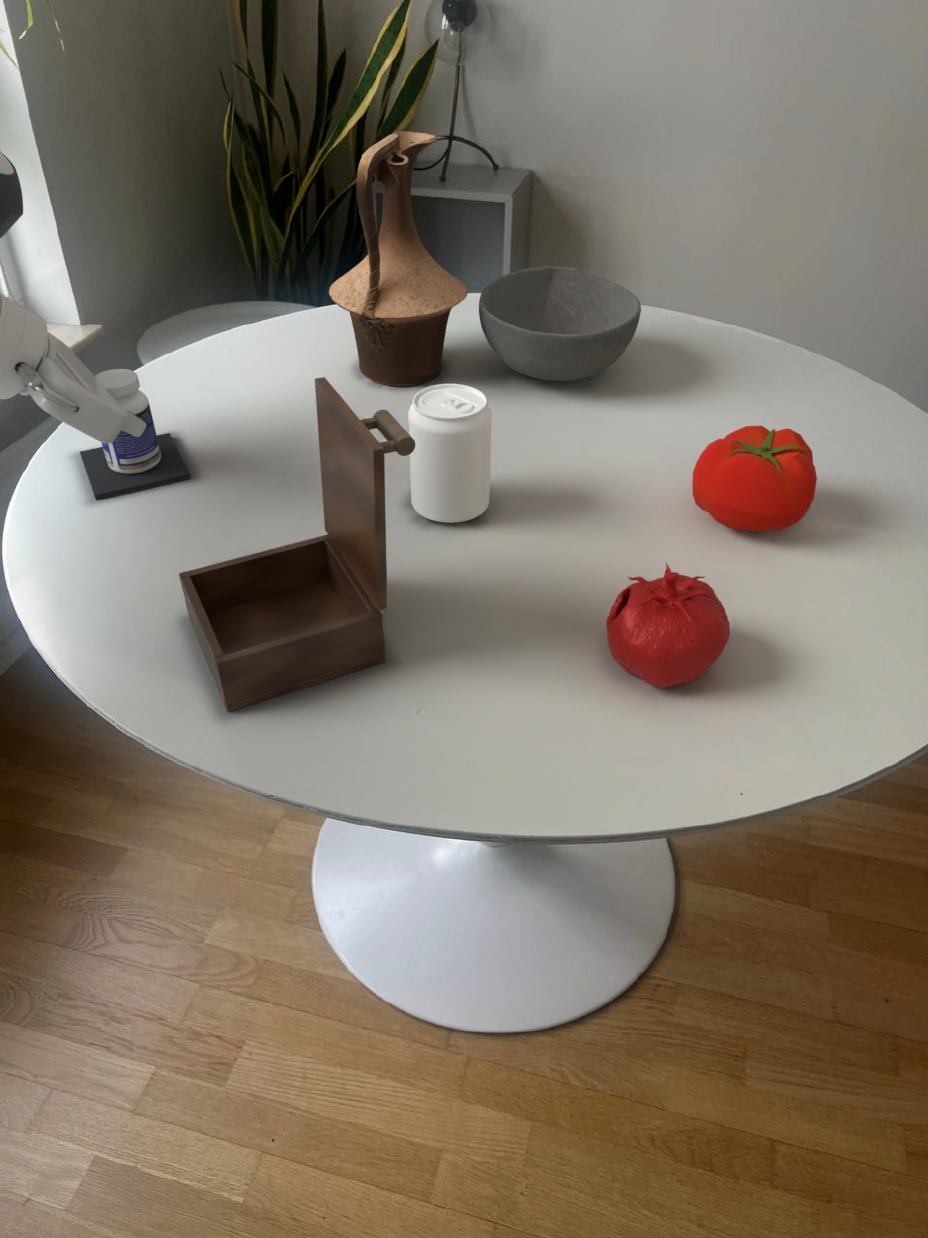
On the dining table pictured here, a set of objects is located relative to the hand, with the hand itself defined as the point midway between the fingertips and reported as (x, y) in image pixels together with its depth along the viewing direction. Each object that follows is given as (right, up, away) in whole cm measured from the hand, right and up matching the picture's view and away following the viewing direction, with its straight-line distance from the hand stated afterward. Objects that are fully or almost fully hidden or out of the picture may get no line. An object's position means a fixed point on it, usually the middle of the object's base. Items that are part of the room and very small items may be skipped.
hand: (129, 415), depth 99 cm
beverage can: (+34, -10, -2) cm, 36 cm away
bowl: (+47, +11, +23) cm, 54 cm away
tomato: (+65, -11, -3) cm, 66 cm away
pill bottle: (-1, -5, +3) cm, 6 cm away
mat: (-1, -5, +4) cm, 6 cm away
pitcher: (+27, +11, +23) cm, 37 cm away
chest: (+20, -24, -18) cm, 36 cm away
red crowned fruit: (+52, -25, -20) cm, 61 cm away
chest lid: (+26, -12, -24) cm, 38 cm away
